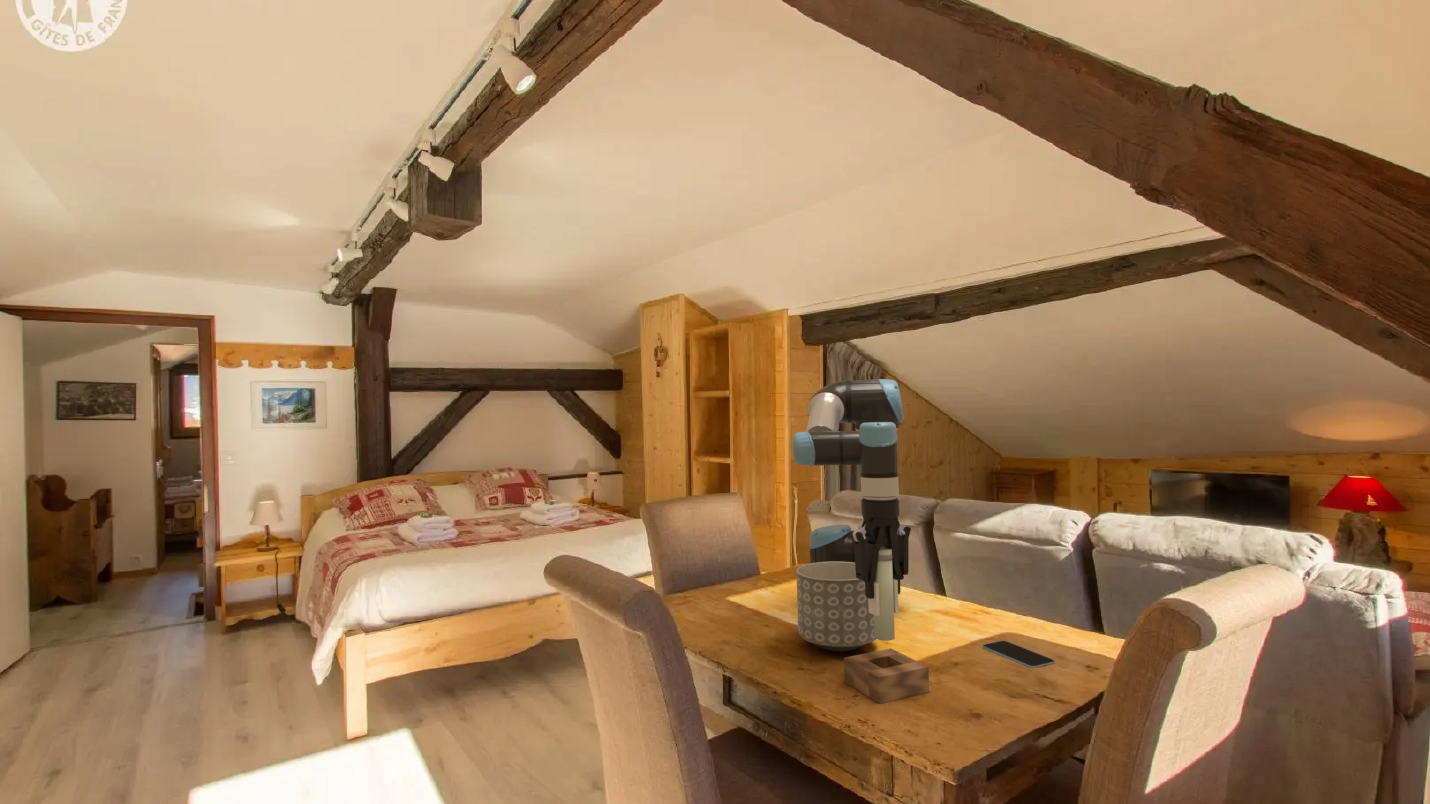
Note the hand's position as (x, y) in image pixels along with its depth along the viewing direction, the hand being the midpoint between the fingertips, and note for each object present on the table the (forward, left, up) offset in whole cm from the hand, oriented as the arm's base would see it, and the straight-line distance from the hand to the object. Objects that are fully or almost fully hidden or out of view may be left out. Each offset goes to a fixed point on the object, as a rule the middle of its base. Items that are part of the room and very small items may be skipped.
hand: (883, 611), depth 141 cm
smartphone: (-37, -1, -16) cm, 40 cm away
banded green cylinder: (0, 0, -5) cm, 5 cm away
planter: (-5, -25, -16) cm, 30 cm away
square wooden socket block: (0, 0, -15) cm, 15 cm away
